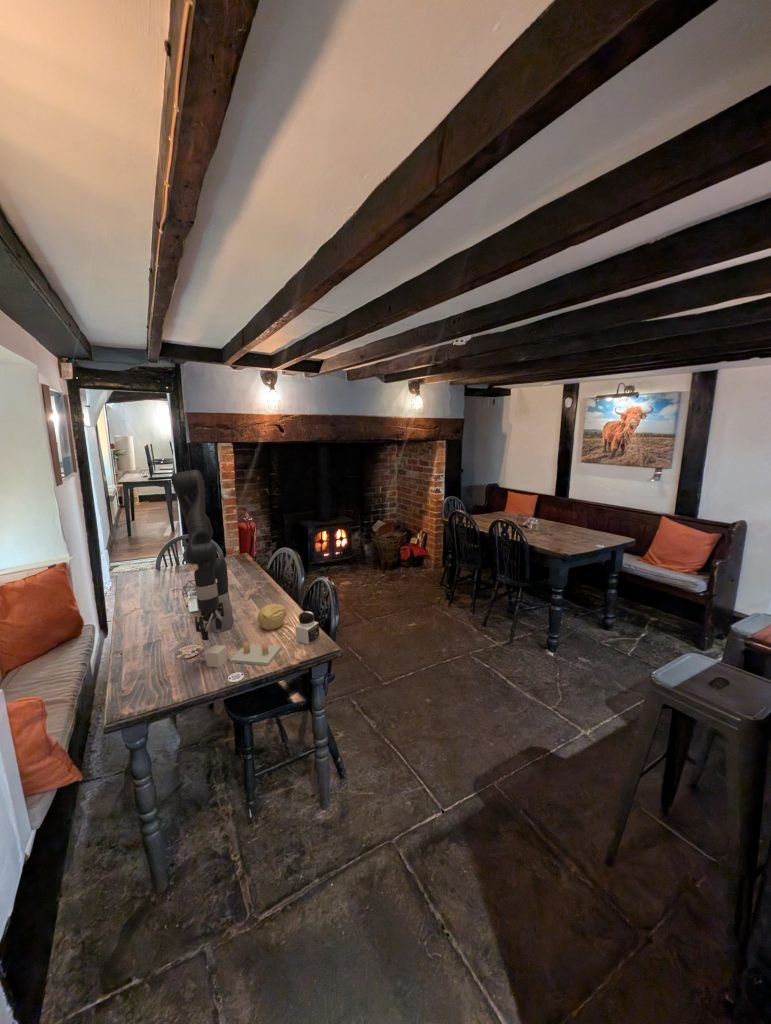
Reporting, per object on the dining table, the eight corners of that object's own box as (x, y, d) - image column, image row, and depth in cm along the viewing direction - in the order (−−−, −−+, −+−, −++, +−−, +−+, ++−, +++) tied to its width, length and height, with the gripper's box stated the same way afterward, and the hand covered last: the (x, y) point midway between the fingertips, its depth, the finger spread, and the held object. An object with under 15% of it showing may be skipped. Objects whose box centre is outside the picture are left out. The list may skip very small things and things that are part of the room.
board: (246, 646, 174) (244, 635, 173) (281, 649, 171) (280, 637, 170) (230, 662, 163) (228, 650, 162) (268, 665, 159) (266, 653, 158)
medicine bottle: (309, 645, 173) (307, 618, 171) (296, 641, 177) (293, 615, 174) (320, 637, 179) (317, 611, 177) (307, 633, 183) (304, 608, 180)
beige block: (215, 658, 166) (213, 645, 165) (227, 659, 165) (225, 646, 163) (207, 666, 161) (205, 652, 159) (219, 667, 160) (217, 653, 158)
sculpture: (270, 635, 183) (268, 612, 180) (254, 628, 190) (251, 606, 188) (290, 624, 192) (288, 603, 189) (274, 618, 199) (272, 597, 196)
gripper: (210, 587, 164) (214, 625, 167) (186, 602, 151) (191, 643, 154) (227, 588, 163) (231, 626, 166) (204, 603, 149) (209, 644, 152)
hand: (212, 634), depth 160 cm, fingers open, 8 cm apart
